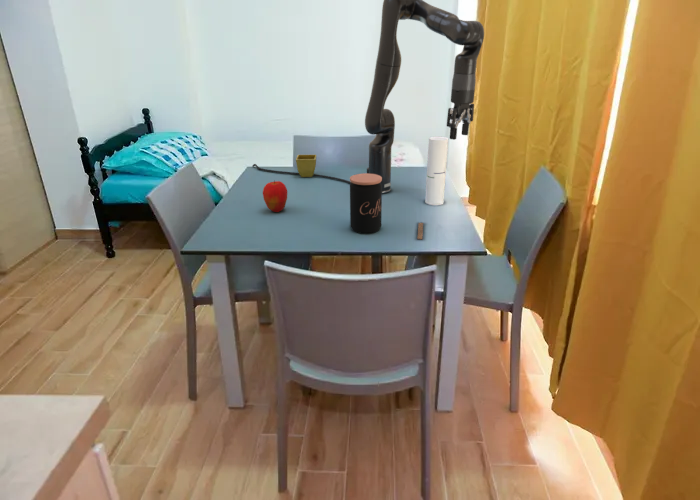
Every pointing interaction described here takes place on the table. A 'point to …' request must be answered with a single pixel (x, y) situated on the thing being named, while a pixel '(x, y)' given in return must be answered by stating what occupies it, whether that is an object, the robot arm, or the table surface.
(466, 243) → the table surface
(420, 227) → the strip
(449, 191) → the table surface
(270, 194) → the apple
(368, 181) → the coffee jar
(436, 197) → the cylindrical container
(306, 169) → the flower pot
